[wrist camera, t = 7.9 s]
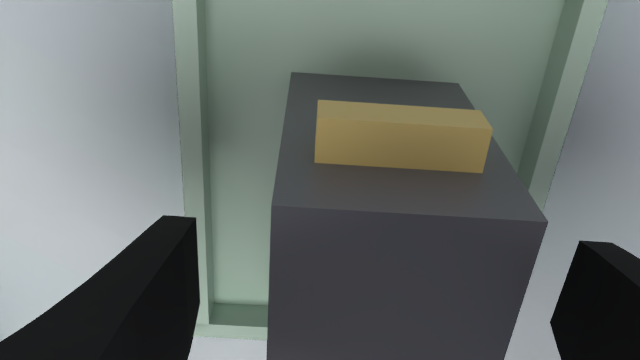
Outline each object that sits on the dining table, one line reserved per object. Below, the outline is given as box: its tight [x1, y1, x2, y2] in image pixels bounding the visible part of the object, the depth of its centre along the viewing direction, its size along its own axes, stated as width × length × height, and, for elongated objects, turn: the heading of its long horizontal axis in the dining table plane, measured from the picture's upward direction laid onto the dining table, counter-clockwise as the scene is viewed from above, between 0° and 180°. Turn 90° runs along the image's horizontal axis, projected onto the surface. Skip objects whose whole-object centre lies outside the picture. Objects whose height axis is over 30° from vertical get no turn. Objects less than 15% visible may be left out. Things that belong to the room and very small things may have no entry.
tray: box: [172, 0, 608, 340], centre depth 14 cm, size 9×11×2 cm
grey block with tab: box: [267, 72, 548, 360], centre depth 12 cm, size 4×8×6 cm, turn 176°
